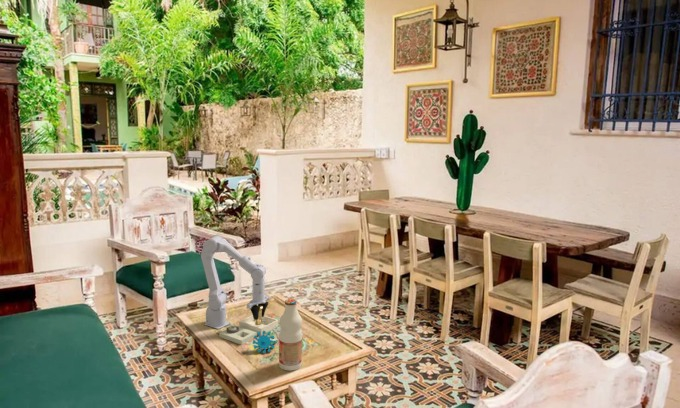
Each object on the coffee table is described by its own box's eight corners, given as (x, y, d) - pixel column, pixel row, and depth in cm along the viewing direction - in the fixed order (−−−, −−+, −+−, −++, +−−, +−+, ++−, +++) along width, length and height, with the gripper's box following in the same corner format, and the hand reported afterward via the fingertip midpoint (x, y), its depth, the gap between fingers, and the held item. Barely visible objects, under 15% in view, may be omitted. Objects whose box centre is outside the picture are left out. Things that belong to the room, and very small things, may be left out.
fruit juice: (291, 373, 186) (292, 307, 181) (274, 366, 191) (274, 301, 186) (306, 364, 193) (307, 300, 188) (289, 357, 198) (290, 294, 194)
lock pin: (252, 324, 225) (252, 306, 224) (257, 322, 229) (258, 304, 228) (258, 326, 223) (259, 308, 222) (264, 324, 227) (264, 306, 226)
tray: (239, 328, 225) (239, 321, 225) (256, 319, 236) (256, 313, 235) (261, 335, 218) (261, 328, 218) (278, 326, 228) (278, 319, 228)
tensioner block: (219, 336, 216) (219, 328, 215) (234, 329, 224) (234, 321, 224) (241, 344, 209) (241, 336, 208) (256, 336, 217) (256, 328, 216)
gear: (252, 352, 199) (253, 329, 204) (250, 357, 203) (250, 334, 209) (278, 352, 202) (278, 330, 208) (275, 357, 206) (275, 335, 212)
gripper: (254, 297, 216) (254, 325, 218) (274, 288, 228) (274, 314, 230) (243, 294, 219) (243, 321, 222) (263, 285, 231) (263, 311, 234)
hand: (258, 317), depth 226 cm, fingers closed on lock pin, 4 cm apart
